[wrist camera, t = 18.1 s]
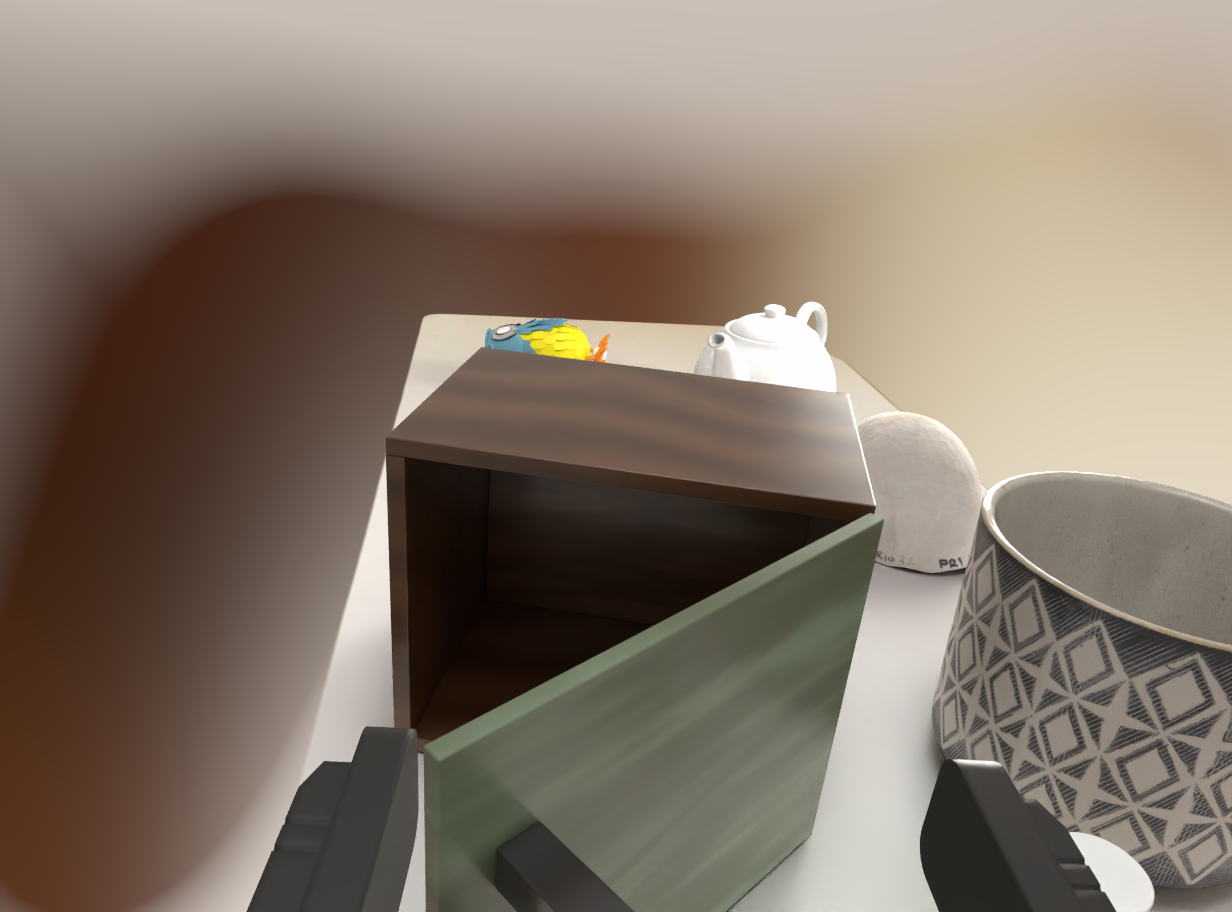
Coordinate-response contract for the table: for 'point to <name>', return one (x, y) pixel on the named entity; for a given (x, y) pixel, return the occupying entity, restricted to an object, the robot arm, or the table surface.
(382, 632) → the table surface
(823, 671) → the cupboard door
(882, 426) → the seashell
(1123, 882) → the supplement bottle
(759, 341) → the teapot
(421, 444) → the cupboard
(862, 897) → the table surface
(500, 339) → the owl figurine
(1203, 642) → the planter
